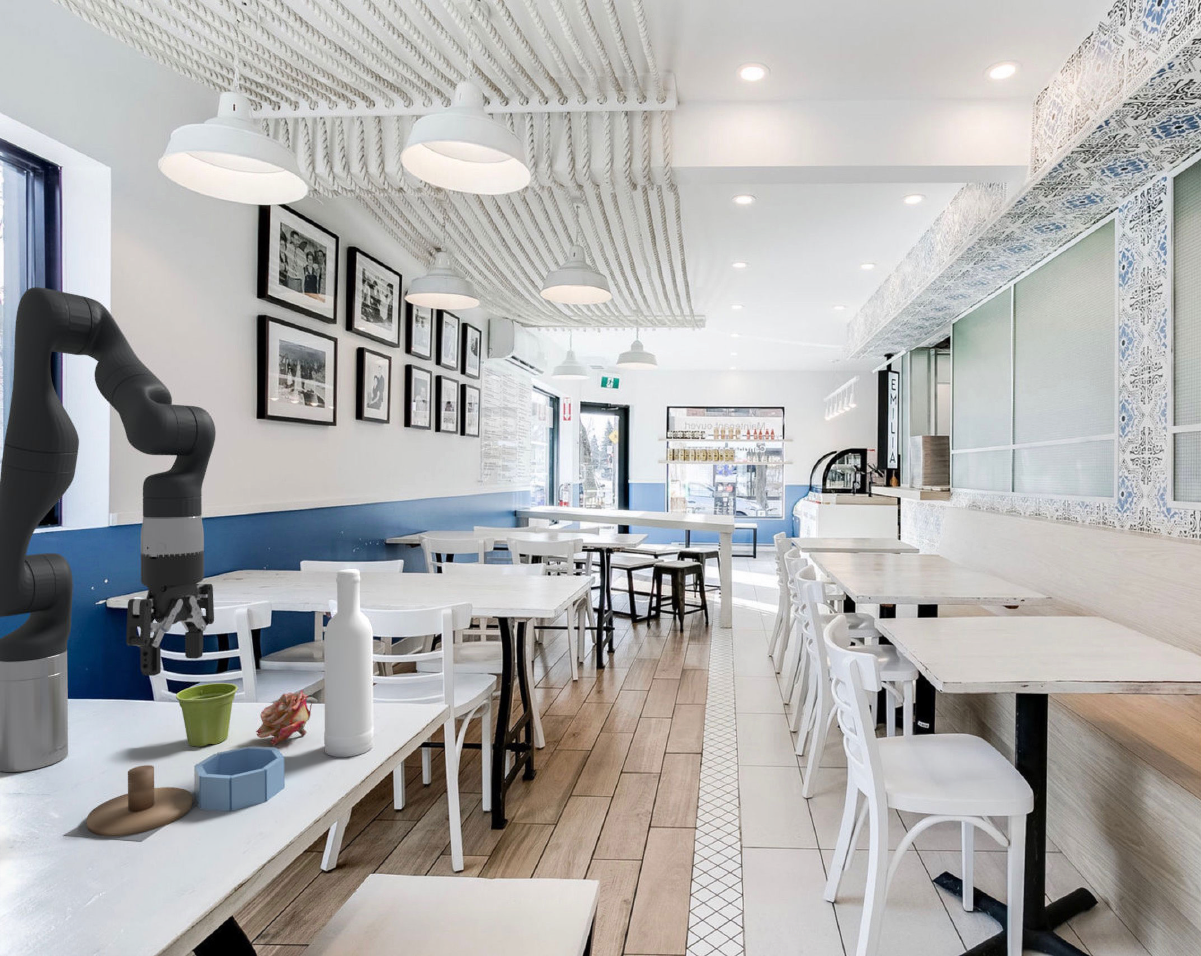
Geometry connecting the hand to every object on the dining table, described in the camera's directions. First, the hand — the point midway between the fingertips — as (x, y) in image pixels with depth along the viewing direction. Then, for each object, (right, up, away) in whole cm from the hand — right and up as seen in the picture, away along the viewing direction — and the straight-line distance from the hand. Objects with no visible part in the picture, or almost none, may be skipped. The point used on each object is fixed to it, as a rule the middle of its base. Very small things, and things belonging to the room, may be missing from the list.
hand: (173, 665), depth 101 cm
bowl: (+7, -20, +4) cm, 21 cm away
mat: (-3, -20, -3) cm, 20 cm away
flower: (+4, -20, +26) cm, 33 cm away
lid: (-3, -19, -3) cm, 20 cm away
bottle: (+17, -20, +22) cm, 34 cm away
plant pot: (-9, -20, +25) cm, 33 cm away
